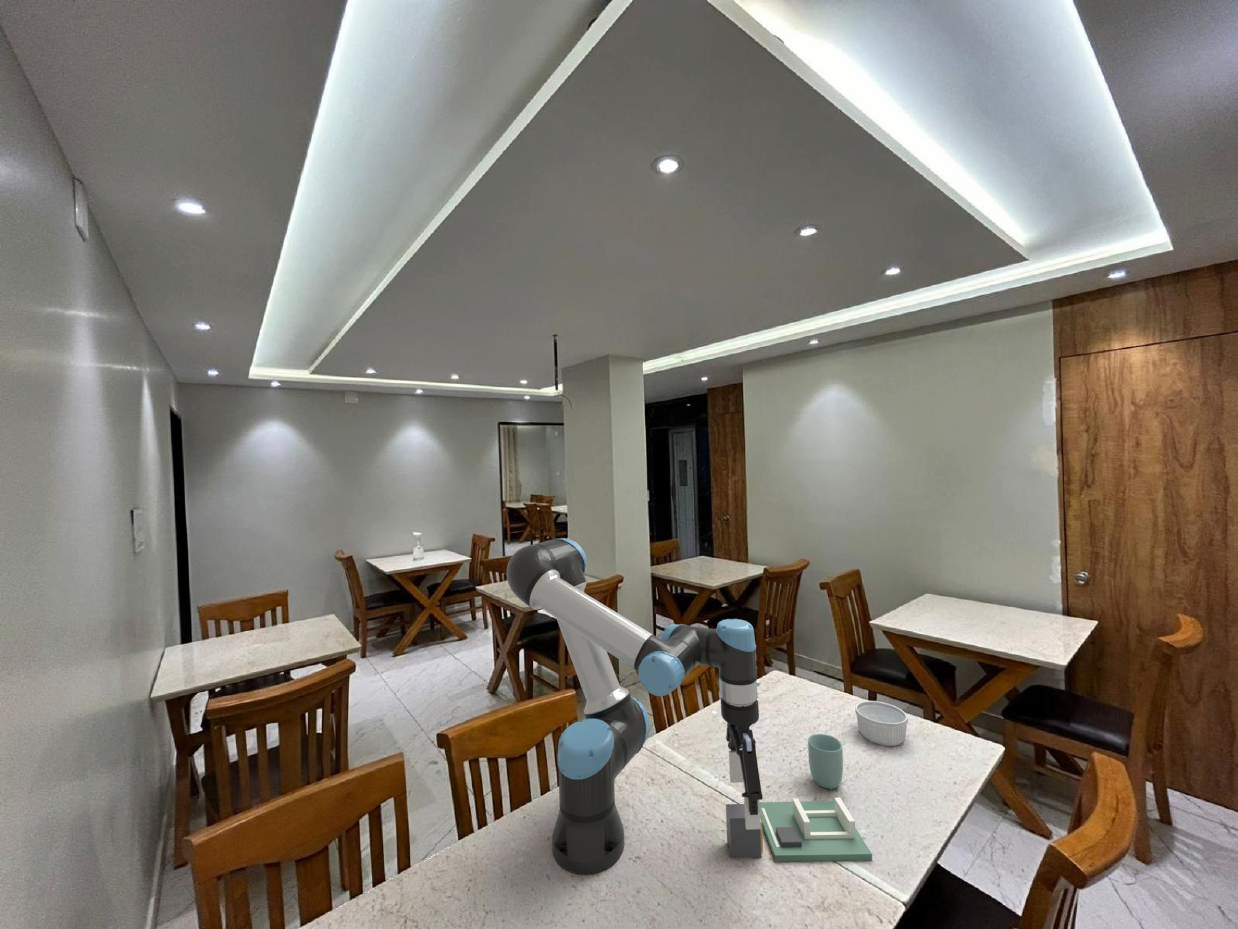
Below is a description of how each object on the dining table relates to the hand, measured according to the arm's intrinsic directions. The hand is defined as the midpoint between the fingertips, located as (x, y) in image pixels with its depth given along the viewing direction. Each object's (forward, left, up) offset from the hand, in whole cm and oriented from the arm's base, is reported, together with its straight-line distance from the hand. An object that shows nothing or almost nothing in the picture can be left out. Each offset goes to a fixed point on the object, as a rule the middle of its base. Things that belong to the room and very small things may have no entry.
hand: (744, 803), depth 97 cm
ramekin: (+49, +40, -10) cm, 64 cm away
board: (+15, +5, -10) cm, 18 cm away
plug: (0, 0, -10) cm, 10 cm away
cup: (+25, +20, -10) cm, 33 cm away
